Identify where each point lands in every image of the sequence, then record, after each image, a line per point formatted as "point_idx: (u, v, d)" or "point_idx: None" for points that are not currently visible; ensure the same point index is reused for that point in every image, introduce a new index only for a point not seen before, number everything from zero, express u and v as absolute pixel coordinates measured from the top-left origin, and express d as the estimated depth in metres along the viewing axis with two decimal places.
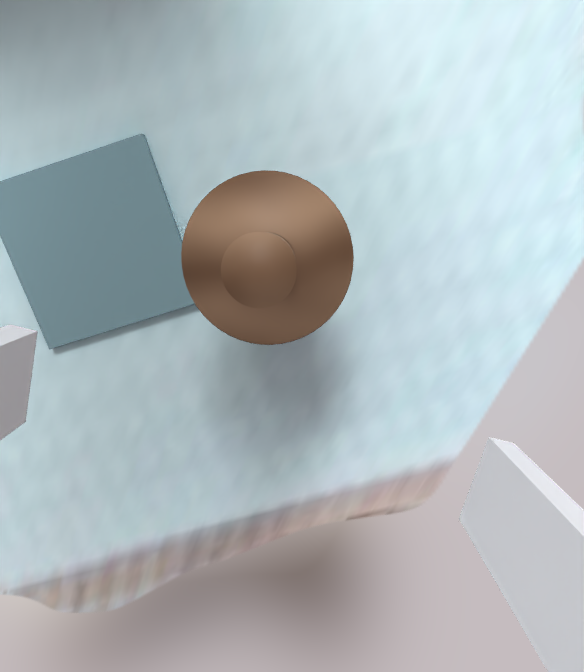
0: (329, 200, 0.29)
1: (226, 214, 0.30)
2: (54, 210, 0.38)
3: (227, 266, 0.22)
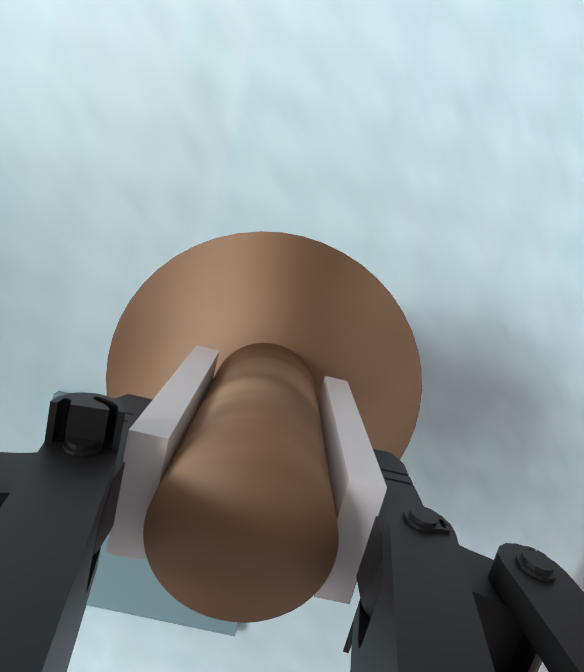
0: (226, 238, 0.15)
1: None
2: None
3: (194, 594, 0.09)
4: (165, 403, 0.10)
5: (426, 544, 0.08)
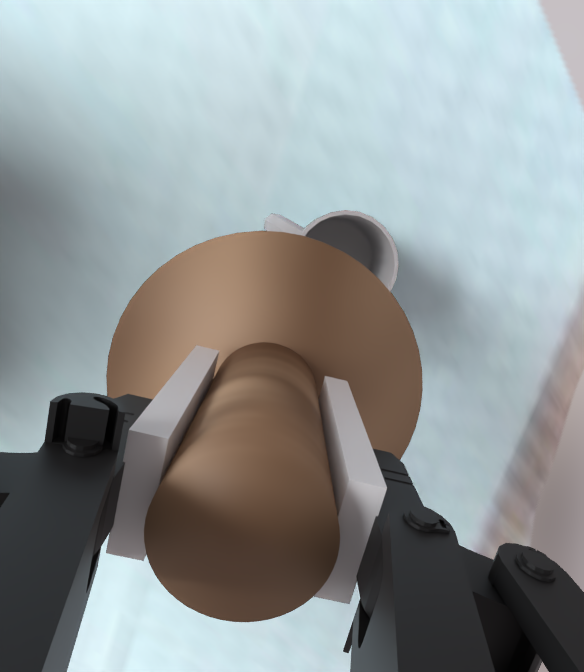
0: (226, 238, 0.15)
1: None
2: None
3: (195, 594, 0.09)
4: (165, 403, 0.10)
5: (426, 544, 0.08)
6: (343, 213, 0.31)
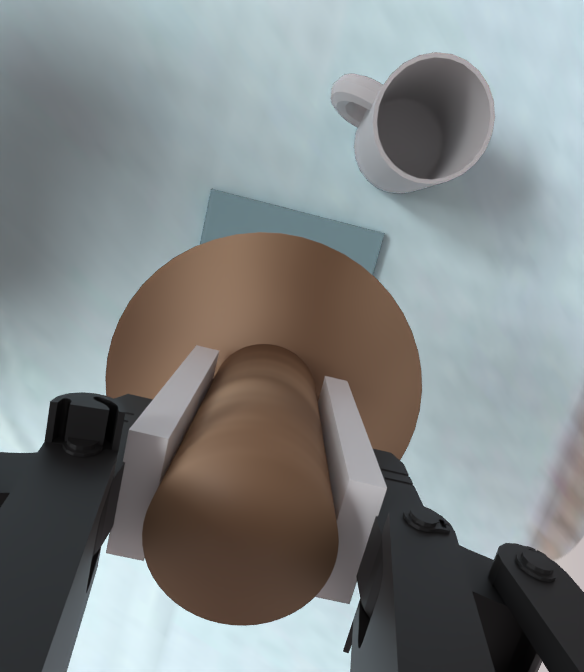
0: (225, 239, 0.15)
1: None
2: None
3: (193, 597, 0.09)
4: (165, 403, 0.10)
5: (426, 544, 0.08)
6: (432, 56, 0.27)
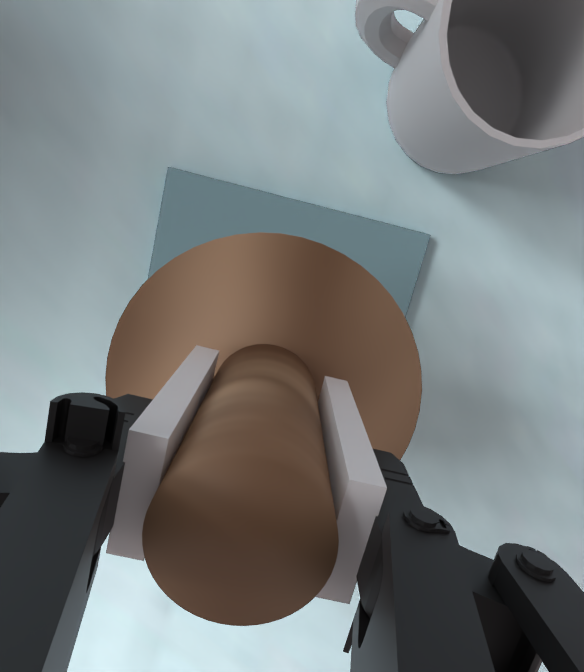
0: (225, 239, 0.15)
1: None
2: None
3: (193, 597, 0.09)
4: (165, 403, 0.10)
5: (426, 544, 0.08)
6: None
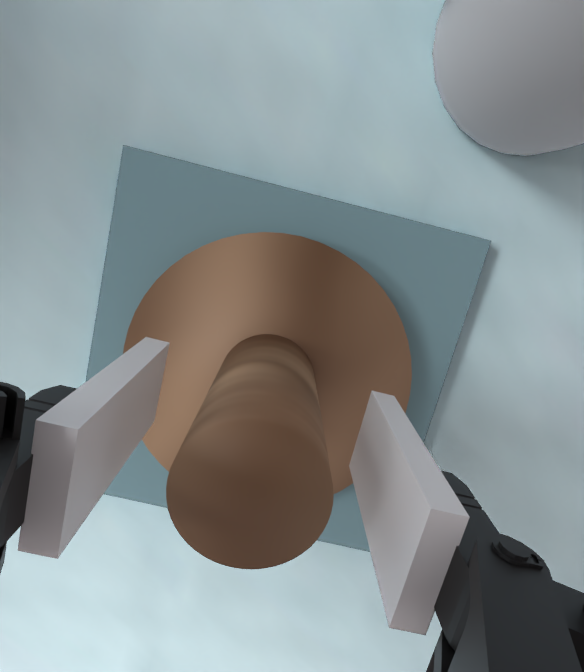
0: (232, 238, 0.17)
1: (168, 397, 0.18)
2: None
3: (209, 543, 0.10)
4: (88, 393, 0.10)
5: (517, 578, 0.08)
6: None
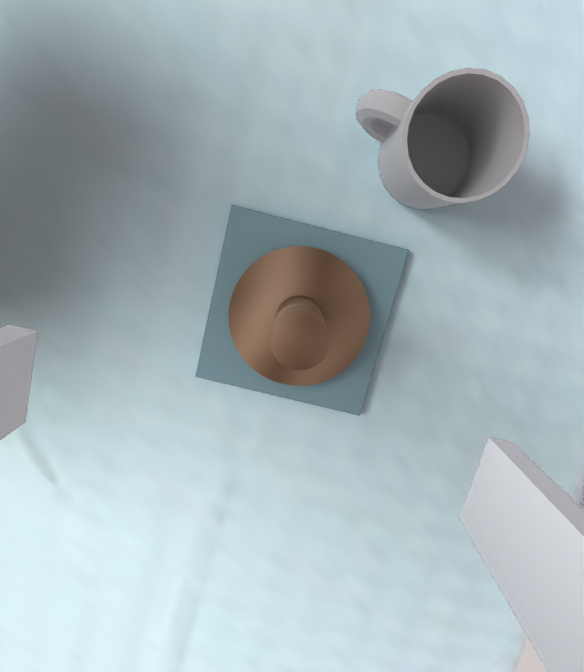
0: (283, 249, 0.36)
1: (250, 327, 0.37)
2: None
3: (285, 360, 0.29)
4: None
5: None
6: (465, 72, 0.26)
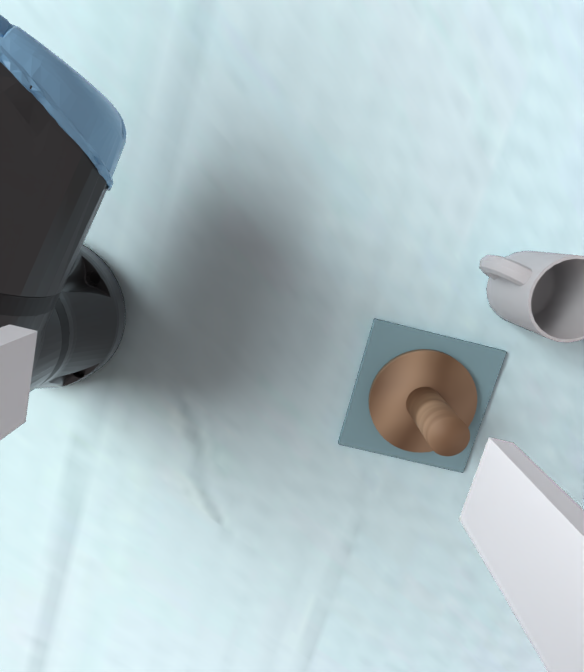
0: (414, 353, 0.47)
1: (386, 409, 0.49)
2: None
3: (437, 449, 0.41)
4: None
5: None
6: (573, 257, 0.38)
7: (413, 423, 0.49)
